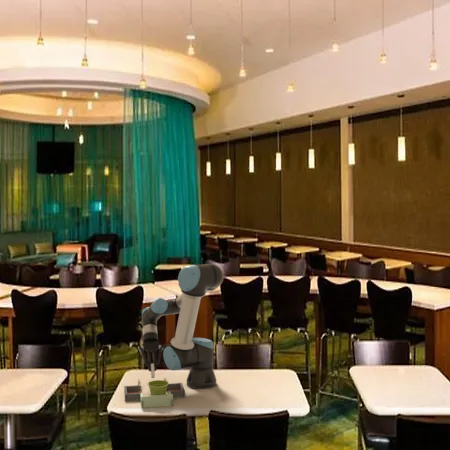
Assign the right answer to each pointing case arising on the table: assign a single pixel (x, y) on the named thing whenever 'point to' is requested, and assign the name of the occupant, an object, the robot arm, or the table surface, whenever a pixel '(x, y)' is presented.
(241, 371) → the table surface
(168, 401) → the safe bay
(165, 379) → the chute
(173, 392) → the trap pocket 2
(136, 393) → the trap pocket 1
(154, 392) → the plant pot
